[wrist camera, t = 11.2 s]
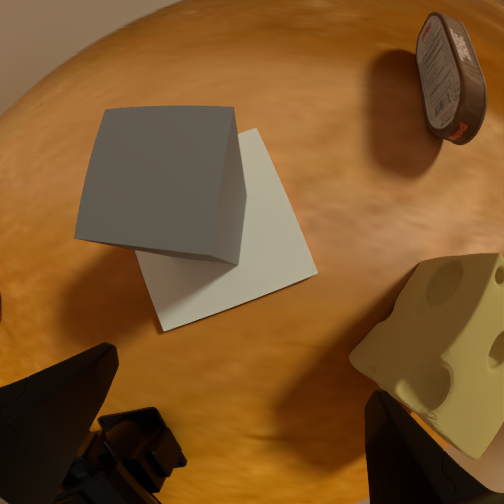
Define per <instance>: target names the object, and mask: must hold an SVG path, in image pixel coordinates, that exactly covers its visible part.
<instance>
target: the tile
mask: <svg viewBox="0 0 504 504" xmlns="http://www.w3.org/2000/svg"><path fill="white" fill-rule="evenodd" d="M238 140H239V146H240V153H241V159H242V166H243V172H244V179H245V186H246V192H247V200H246V208H245V216H244V224H243V232H242V241H241V249H240V257H239V265H234V264H226V263H218V262H209V261H201V260H193V259H185V258H178V257H170V256H164V255H159V254H153V253H148V252H143V251H137V250H135V253H136V256H137V259H138V262H139V265H140V268H141V271H142V274H143V277H144V280H145V283H146V286H147V289H148V291H149V294H150V297H151V300H152V302H153V305H154V308H155V310H156V313H157V315H158V318H159V321H160V323H161V326H162V328H163V331H167V330H170V329H173V328H176V327H179V326H181V325H184V324H187V323H190V322H193V321H196V320H198V319H201V318H204V317H207V316H210V315H212V314H215V313H218V312H221V311H223V310H226V309H229V308H231V307H234V306H237V305H239V304H242V303H245V302H247V301H250V300H253V299H255V298H258V297H260V296H263V295H265V294H268V293H271V292H273V291H276V290H278V289H281V288H283V287H286V286H288V285H291V284H293V283H296V282H298V281H301V280H303V279H306V278H308V277H311V276H313V275H315V274H318V272H317V269H316V267H315V264H314V261H313V259H312V256H311V254H310V251H309V249H308V246H307V244H306V241H305V239H304V236H303V234H302V231H301V229H300V226H299V224H298V221H297V219H296V217H295V214H294V212H293V209H292V207H291V205H290V202H289V200H288V197H287V195H286V193H285V190H284V188H283V186H282V183H281V181H280V179H279V177H278V174H277V172H276V170H275V168H274V165H273V163H272V161H271V159H270V156H269V154H268V152H267V150H266V147H265V145H264V143H263V141H262V139H261V137H260V134H259V132H258V130H257V128H254V129H251V130H248V131H245V132H242V133H239V134H238Z"/></svg>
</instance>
